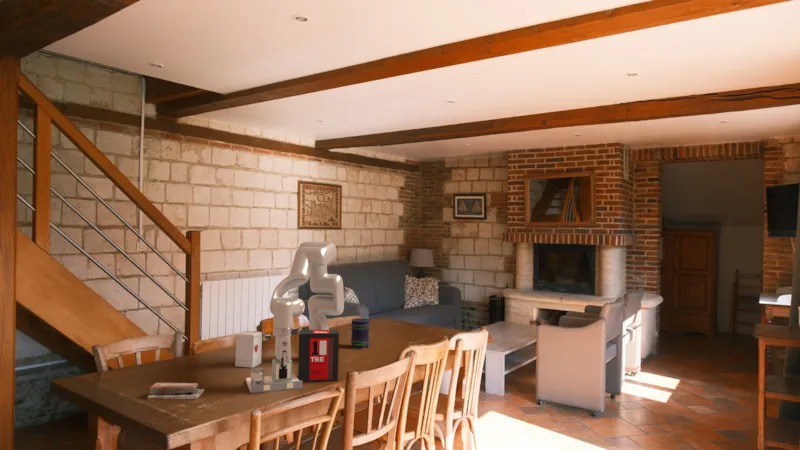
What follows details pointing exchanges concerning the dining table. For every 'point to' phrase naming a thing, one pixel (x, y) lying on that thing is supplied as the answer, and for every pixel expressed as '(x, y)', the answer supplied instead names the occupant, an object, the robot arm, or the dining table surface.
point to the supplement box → (248, 349)
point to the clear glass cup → (257, 376)
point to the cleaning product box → (318, 355)
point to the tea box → (276, 371)
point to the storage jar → (360, 333)
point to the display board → (274, 385)
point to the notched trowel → (175, 391)
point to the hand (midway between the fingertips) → (281, 375)
